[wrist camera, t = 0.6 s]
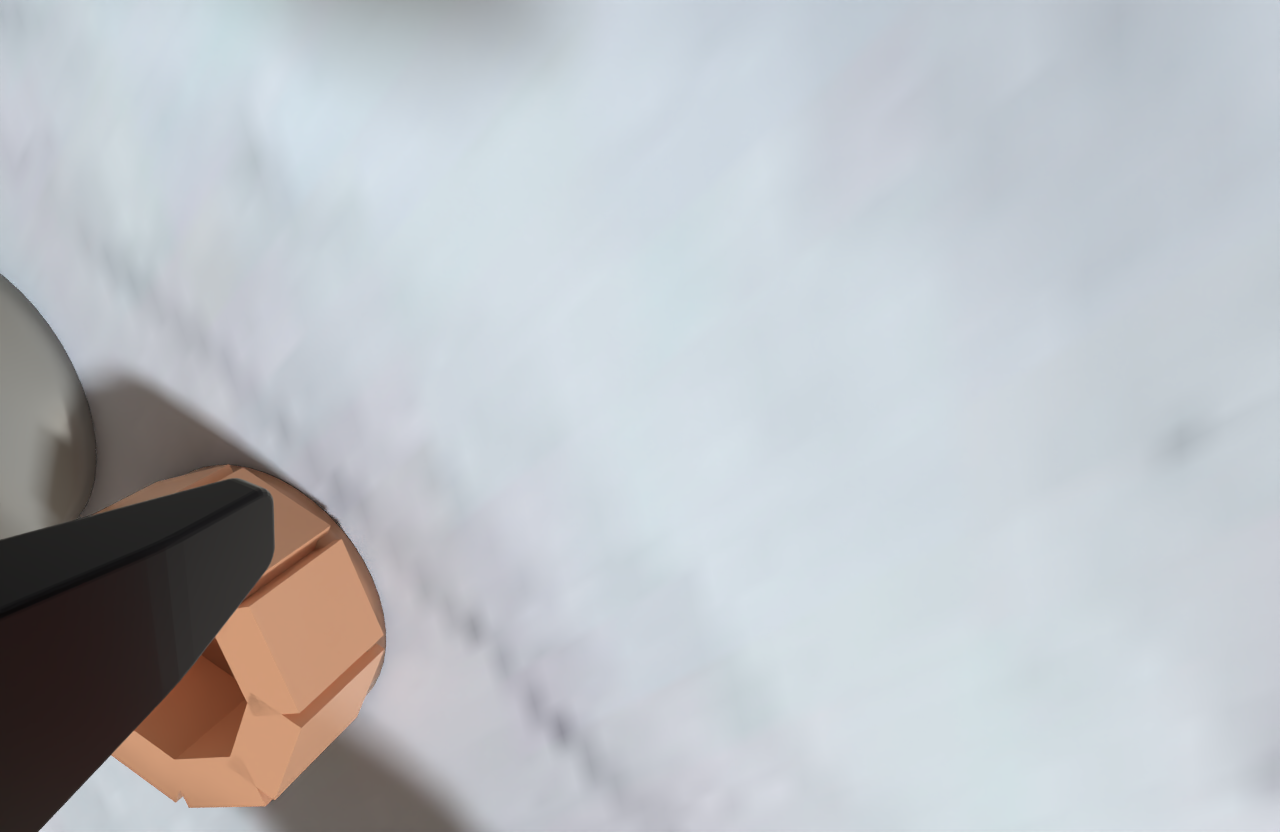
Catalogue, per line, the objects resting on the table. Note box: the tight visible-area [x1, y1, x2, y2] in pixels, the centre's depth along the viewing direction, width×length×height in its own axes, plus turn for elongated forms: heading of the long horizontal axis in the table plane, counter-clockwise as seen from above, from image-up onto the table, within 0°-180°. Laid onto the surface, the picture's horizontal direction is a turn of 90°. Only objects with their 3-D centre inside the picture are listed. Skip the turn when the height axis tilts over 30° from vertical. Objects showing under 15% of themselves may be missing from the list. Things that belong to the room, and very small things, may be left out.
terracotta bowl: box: [93, 464, 386, 808], centre depth 30 cm, size 10×10×4 cm
